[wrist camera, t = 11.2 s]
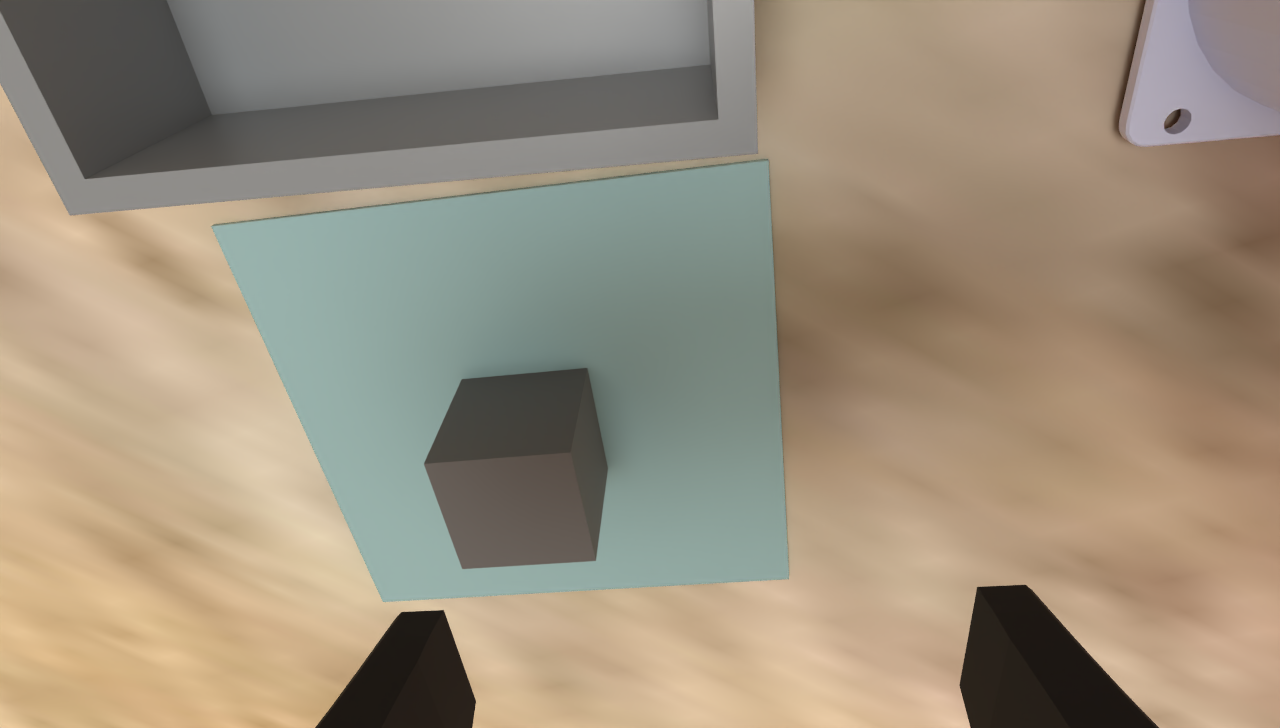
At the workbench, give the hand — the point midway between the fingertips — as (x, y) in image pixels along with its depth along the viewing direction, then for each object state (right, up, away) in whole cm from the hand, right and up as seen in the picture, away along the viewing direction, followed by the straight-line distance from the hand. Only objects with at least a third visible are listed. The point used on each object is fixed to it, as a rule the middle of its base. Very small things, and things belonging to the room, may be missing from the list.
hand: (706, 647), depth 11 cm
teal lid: (-4, +3, +12) cm, 13 cm away
